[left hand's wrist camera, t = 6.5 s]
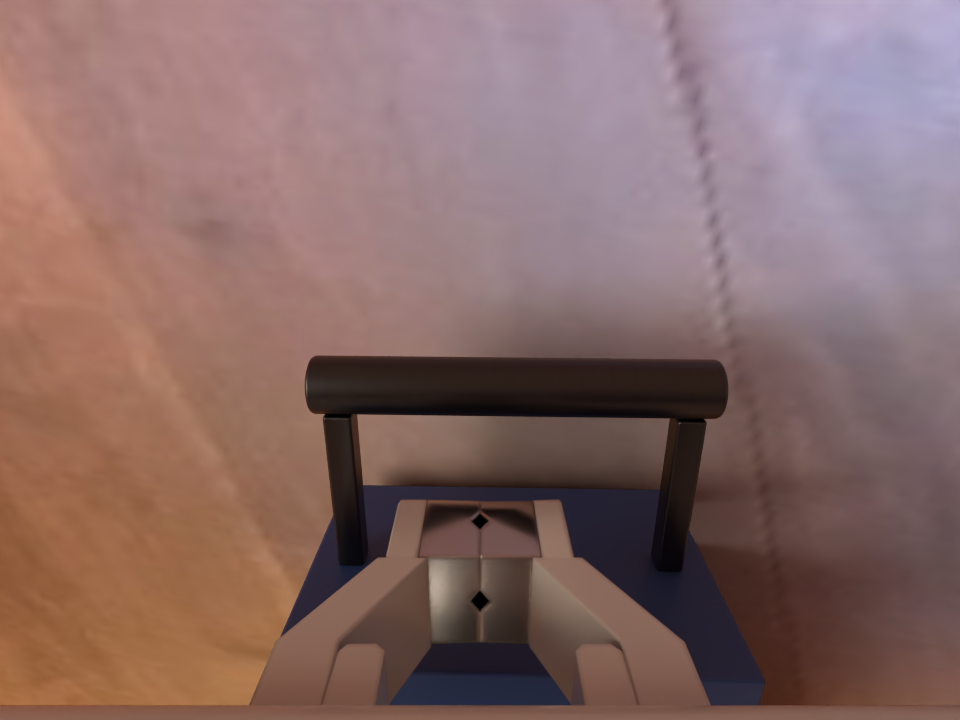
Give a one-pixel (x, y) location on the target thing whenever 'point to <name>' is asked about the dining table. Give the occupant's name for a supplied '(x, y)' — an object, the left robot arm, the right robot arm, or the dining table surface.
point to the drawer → (588, 512)
